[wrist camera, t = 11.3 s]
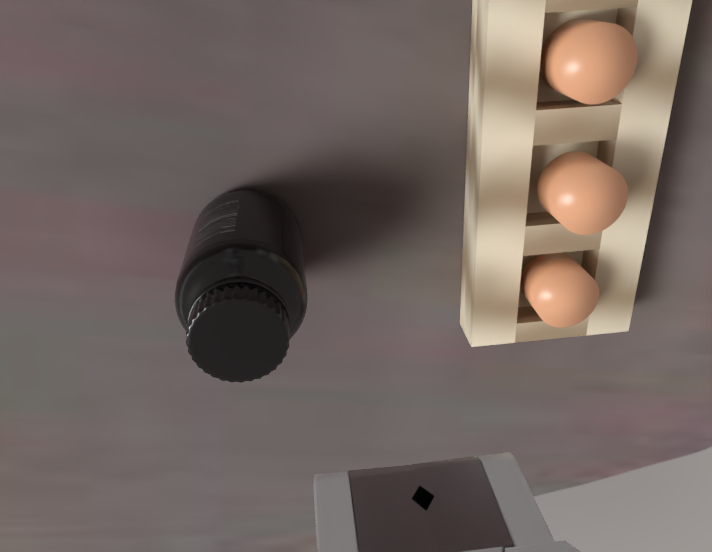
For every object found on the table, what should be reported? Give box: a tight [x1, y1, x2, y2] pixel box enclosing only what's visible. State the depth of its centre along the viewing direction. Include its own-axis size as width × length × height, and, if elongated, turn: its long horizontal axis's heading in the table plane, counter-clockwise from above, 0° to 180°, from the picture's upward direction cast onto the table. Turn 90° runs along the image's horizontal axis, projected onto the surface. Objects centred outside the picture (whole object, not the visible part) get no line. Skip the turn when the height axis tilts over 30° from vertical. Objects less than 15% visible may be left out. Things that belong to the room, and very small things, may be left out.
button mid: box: [537, 151, 628, 235], centre depth 34 cm, size 4×4×3 cm
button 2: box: [540, 19, 637, 104], centre depth 32 cm, size 4×4×3 cm
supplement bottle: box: [175, 190, 307, 382], centre depth 33 cm, size 7×7×12 cm
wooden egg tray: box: [460, 0, 692, 347], centre depth 37 cm, size 22×11×3 cm, turn 3°
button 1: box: [520, 252, 599, 328], centre depth 39 cm, size 4×4×3 cm
